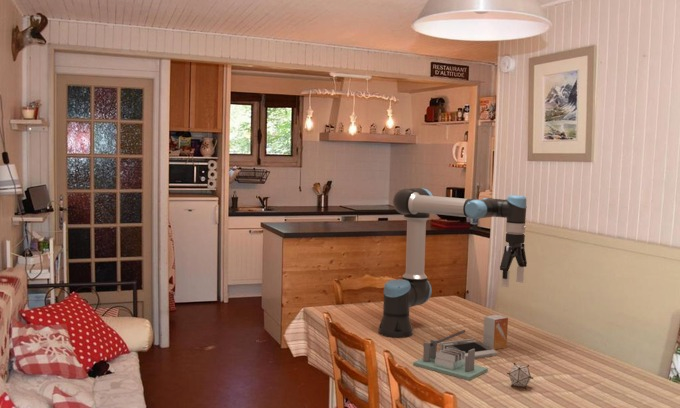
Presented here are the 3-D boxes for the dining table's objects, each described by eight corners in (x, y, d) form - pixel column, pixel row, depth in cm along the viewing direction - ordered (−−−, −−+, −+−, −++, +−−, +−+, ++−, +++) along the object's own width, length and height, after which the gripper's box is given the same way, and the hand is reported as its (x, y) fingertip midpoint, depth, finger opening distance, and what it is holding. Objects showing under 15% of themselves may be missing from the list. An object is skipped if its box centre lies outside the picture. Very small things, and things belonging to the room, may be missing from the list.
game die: (513, 395, 234) (501, 368, 239) (535, 387, 235) (523, 360, 239) (516, 391, 226) (504, 363, 230) (540, 382, 227) (526, 355, 231)
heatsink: (434, 368, 250) (435, 351, 249) (447, 363, 257) (447, 346, 256) (453, 373, 245) (453, 356, 244) (465, 367, 252) (466, 351, 251)
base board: (413, 365, 253) (414, 342, 252) (432, 357, 264) (433, 335, 263) (469, 380, 238) (470, 355, 237) (487, 371, 248) (488, 347, 248)
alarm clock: (472, 338, 283) (498, 345, 268) (472, 349, 283) (498, 357, 268) (439, 342, 275) (464, 350, 260) (439, 353, 275) (464, 362, 260)
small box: (493, 350, 276) (494, 319, 275) (482, 346, 281) (483, 316, 280) (507, 347, 280) (508, 317, 279) (495, 343, 285) (497, 314, 284)
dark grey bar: (427, 347, 255) (426, 343, 256) (432, 346, 257) (430, 342, 258) (461, 334, 245) (460, 330, 246) (465, 332, 248) (464, 328, 248)
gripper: (510, 236, 260) (507, 290, 262) (536, 231, 279) (533, 281, 281) (492, 234, 265) (490, 287, 266) (519, 230, 284) (517, 279, 286)
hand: (512, 284), depth 274 cm, fingers open, 13 cm apart
